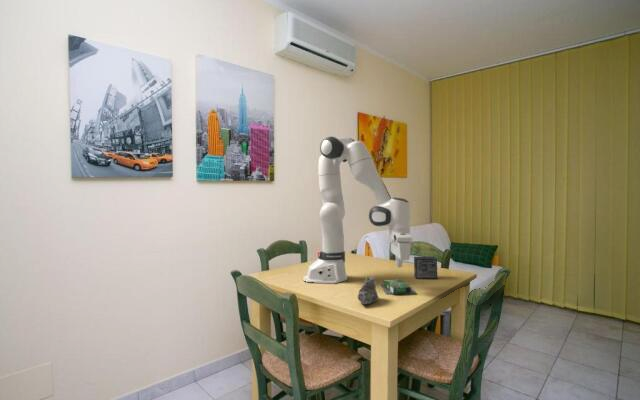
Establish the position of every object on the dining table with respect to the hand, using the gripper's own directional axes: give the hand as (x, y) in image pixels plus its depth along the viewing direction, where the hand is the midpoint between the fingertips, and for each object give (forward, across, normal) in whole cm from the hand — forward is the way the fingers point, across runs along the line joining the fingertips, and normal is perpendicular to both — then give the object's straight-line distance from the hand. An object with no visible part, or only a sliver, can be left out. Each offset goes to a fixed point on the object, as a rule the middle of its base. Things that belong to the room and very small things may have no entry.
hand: (399, 266), depth 149 cm
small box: (+11, -25, +20) cm, 33 cm away
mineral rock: (+12, +12, -16) cm, 23 cm away
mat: (+11, -4, 0) cm, 12 cm away
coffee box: (+9, +4, 0) cm, 10 cm away
